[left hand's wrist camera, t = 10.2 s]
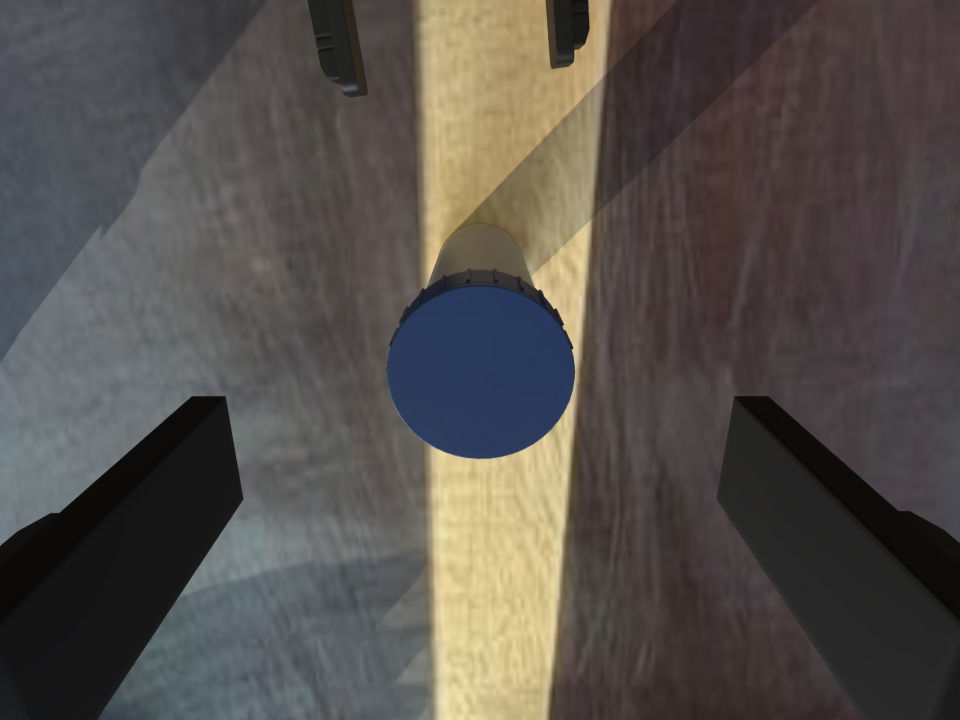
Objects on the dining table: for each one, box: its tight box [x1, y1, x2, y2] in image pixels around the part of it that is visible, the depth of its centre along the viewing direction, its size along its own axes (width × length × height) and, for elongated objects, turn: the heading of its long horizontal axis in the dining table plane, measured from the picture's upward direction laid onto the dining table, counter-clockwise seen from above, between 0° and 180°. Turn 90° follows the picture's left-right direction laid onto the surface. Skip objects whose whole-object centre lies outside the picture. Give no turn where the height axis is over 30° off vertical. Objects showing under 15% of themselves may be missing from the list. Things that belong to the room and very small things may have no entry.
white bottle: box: [427, 224, 535, 288], centre depth 25 cm, size 5×5×16 cm
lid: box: [387, 268, 575, 459], centre depth 18 cm, size 6×6×2 cm
